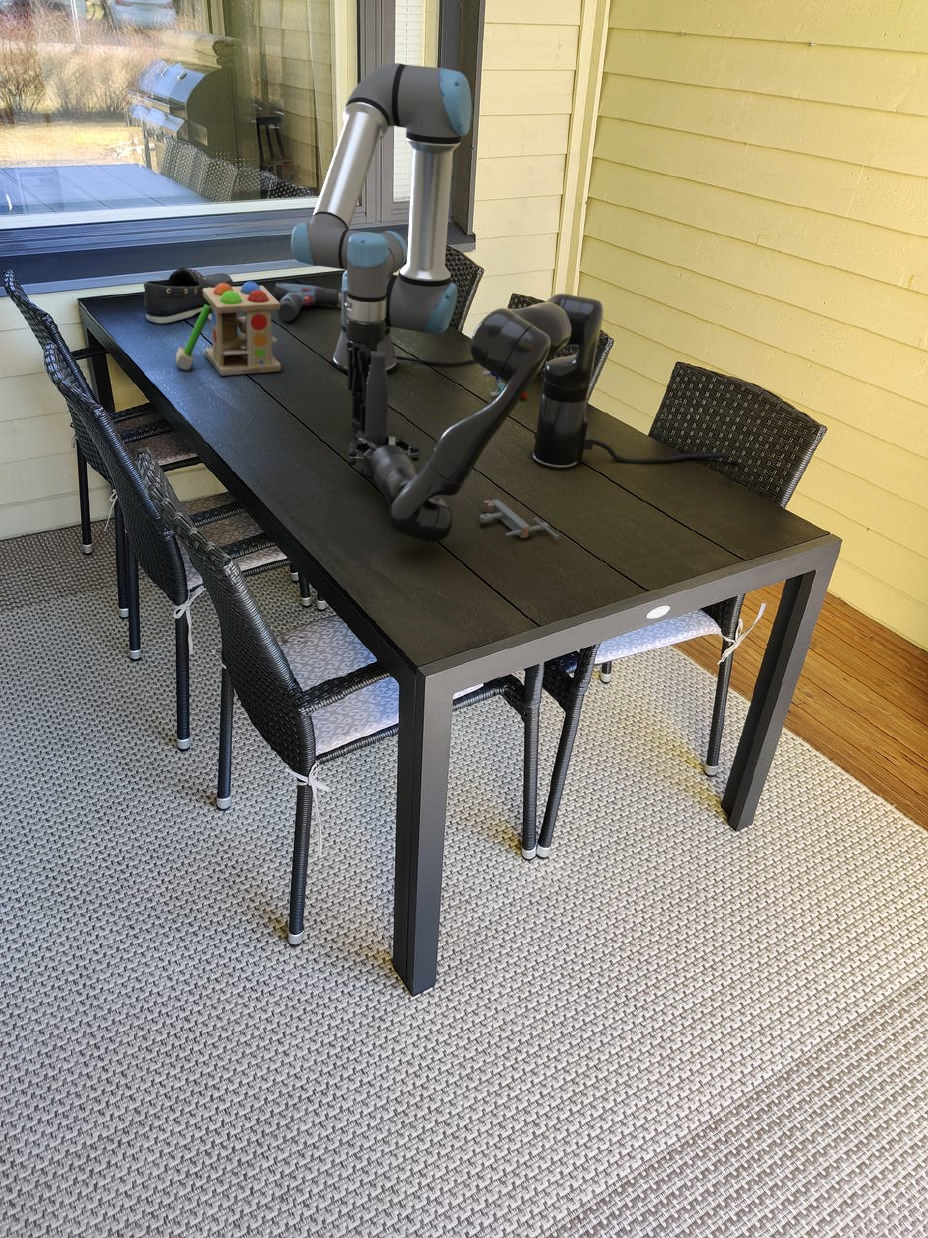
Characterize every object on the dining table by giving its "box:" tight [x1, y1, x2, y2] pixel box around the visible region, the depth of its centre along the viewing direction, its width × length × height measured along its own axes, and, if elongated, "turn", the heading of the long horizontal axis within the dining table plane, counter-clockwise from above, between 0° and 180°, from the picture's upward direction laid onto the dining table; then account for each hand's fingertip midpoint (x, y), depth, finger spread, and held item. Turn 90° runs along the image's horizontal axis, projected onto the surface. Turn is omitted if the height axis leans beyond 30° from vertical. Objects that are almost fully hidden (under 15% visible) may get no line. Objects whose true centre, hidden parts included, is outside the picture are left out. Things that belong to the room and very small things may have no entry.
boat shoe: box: [143, 267, 235, 324], centre depth 260 cm, size 13×33×10 cm, turn 147°
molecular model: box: [481, 370, 528, 400], centre depth 225 cm, size 12×10×10 cm
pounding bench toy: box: [174, 281, 282, 377], centre depth 225 cm, size 23×14×18 cm, turn 116°
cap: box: [352, 416, 361, 435], centre depth 202 cm, size 4×4×3 cm
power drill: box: [274, 282, 342, 322], centre depth 265 cm, size 5×19×20 cm
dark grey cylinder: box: [363, 351, 390, 478], centre depth 184 cm, size 4×4×24 cm
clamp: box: [478, 498, 560, 540], centre depth 176 cm, size 15×2×10 cm
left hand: (362, 431), depth 203 cm, fingers closed on cap, 4 cm apart
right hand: (371, 434), depth 189 cm, fingers closed on dark grey cylinder, 4 cm apart
